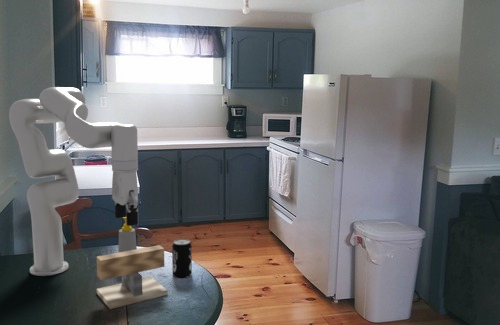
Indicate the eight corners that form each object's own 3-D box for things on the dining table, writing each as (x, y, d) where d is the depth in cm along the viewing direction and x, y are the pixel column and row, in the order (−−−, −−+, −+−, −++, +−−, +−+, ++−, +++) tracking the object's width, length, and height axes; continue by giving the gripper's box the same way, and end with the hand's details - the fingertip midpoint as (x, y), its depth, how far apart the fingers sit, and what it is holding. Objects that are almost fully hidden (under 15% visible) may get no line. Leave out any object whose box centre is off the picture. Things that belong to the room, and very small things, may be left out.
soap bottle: (140, 265, 169) (139, 217, 166) (122, 269, 164) (121, 220, 162) (133, 259, 174) (132, 213, 171) (115, 263, 170) (113, 216, 167)
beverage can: (188, 279, 156) (187, 245, 154) (169, 277, 157) (169, 243, 155) (194, 272, 162) (194, 239, 161) (176, 270, 164) (176, 237, 162)
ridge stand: (96, 293, 144) (95, 270, 143) (151, 280, 154) (150, 259, 153) (110, 309, 134) (109, 284, 133) (167, 294, 144) (167, 271, 143)
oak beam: (159, 262, 150) (158, 245, 149) (164, 266, 147) (164, 248, 146) (97, 275, 139) (96, 256, 138) (101, 280, 136) (100, 260, 135)
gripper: (103, 162, 143) (104, 216, 145) (123, 170, 129) (124, 230, 131) (126, 161, 147) (127, 213, 150) (148, 168, 133) (149, 226, 136)
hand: (126, 221), depth 141 cm, fingers open, 9 cm apart
